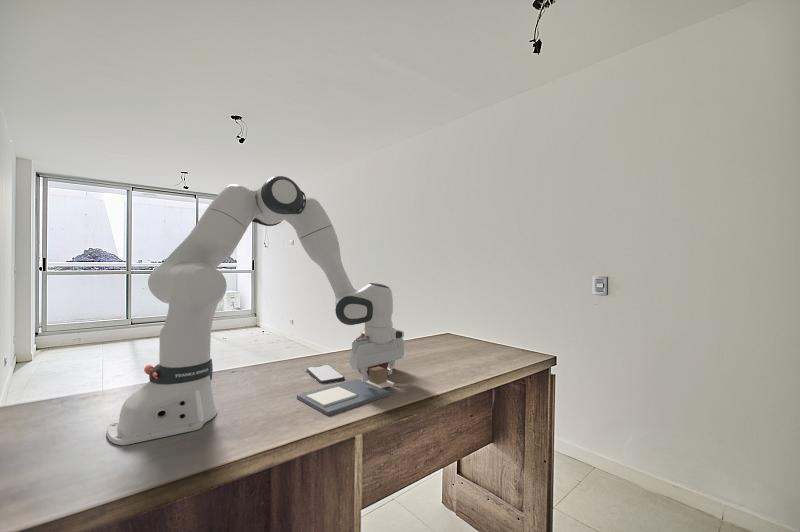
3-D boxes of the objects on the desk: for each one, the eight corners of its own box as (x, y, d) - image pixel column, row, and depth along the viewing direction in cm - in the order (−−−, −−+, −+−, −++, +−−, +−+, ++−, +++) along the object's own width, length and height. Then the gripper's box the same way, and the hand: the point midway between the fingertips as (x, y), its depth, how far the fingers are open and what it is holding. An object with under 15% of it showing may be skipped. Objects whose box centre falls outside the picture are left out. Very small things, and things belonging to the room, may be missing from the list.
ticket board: (328, 415, 96) (328, 409, 96) (296, 398, 107) (296, 392, 107) (390, 394, 111) (390, 389, 111) (357, 381, 122) (357, 376, 122)
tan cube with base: (380, 388, 113) (380, 374, 113) (361, 381, 119) (361, 367, 119) (394, 384, 117) (394, 370, 117) (375, 377, 123) (376, 364, 123)
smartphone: (345, 381, 124) (328, 368, 138) (346, 377, 124) (328, 364, 137) (320, 386, 119) (305, 372, 133) (320, 381, 119) (305, 367, 133)
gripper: (358, 340, 108) (358, 387, 109) (407, 331, 123) (406, 373, 123) (346, 337, 113) (345, 382, 113) (394, 328, 127) (393, 368, 127)
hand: (377, 377), depth 118 cm, fingers open, 8 cm apart
